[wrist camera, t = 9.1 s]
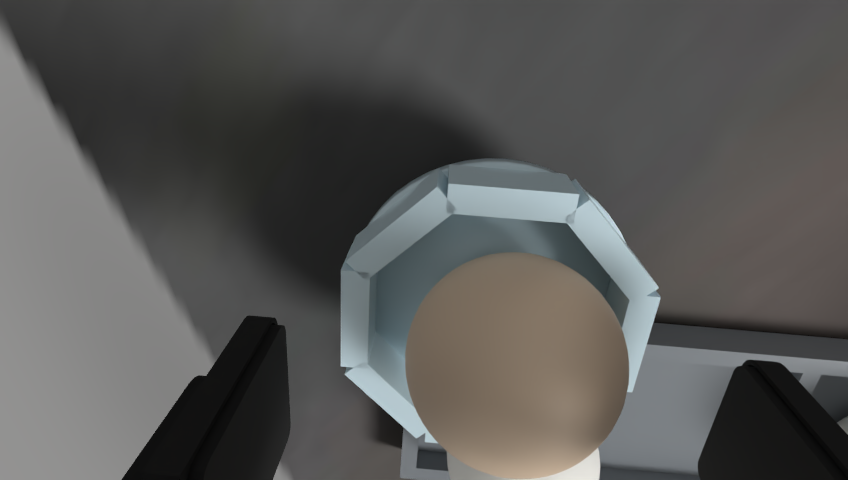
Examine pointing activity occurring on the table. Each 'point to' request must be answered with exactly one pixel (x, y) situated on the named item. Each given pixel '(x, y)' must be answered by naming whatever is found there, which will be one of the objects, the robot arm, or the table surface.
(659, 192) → the table surface
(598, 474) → the white egg
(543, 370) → the egg brown
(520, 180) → the egg cup
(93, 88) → the table surface
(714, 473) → the robot arm
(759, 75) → the table surface
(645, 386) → the egg tray
